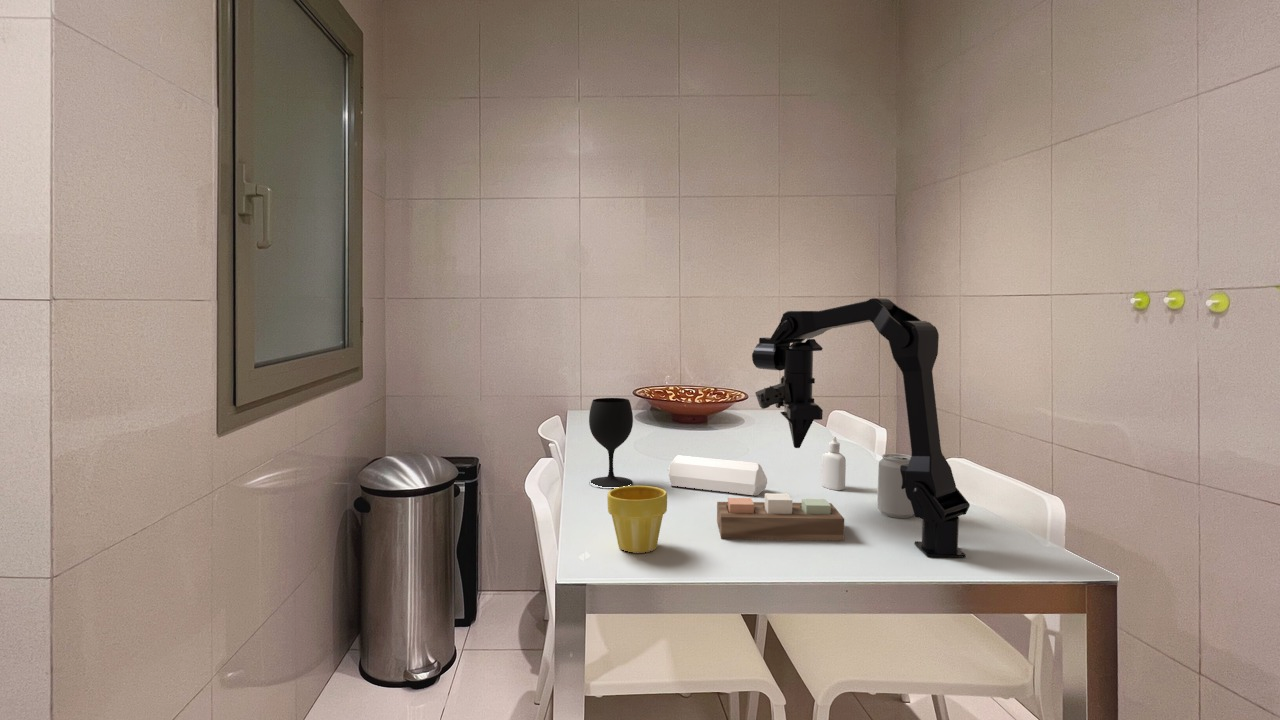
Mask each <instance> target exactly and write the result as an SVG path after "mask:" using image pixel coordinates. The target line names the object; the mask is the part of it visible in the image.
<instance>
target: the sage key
mask: <svg viewBox="0 0 1280 720" xmlns="http://www.w3.org/2000/svg"><path fill="white" fill-rule="evenodd" d="M801 503H802V510H803V512H804V513H805V514H831V505H830V504H829V503H830V502H828V501H827V499H826V498H801Z"/></svg>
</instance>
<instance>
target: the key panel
mask: <svg viewBox="0 0 1280 720" xmlns="http://www.w3.org/2000/svg"><path fill="white" fill-rule="evenodd" d="M753 503H754V513H728V501H716V523H717V528H718V532H719V534H720V535H719V536H720V540H732V539H733V540H779V541H780V540H781V541H782V540H785V541H786V540H788V541H789V540H790V541H795V540H796V541H844V540H845V517H844V516H843V515H842V514H841V513H840V511H838V510H837V508H836V507H835V506H834V505H833V504H832V503H831V502H828V503H829V504H830V505H831V514H805V513H804V512H803V510H802V502H792V514H767V513H766V511H765V501H753Z"/></svg>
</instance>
